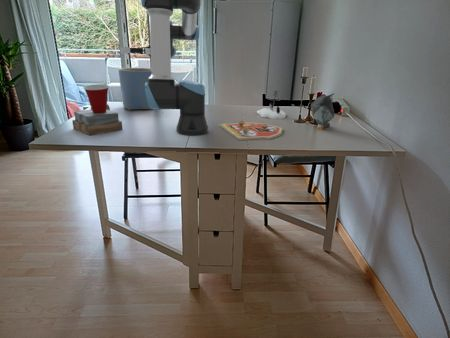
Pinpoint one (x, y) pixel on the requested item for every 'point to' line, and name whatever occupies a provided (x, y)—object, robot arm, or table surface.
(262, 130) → the knob puzzle
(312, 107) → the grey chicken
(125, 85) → the planter
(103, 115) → the stack of books
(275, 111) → the figurine
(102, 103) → the plastic cup
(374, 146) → the table surface
